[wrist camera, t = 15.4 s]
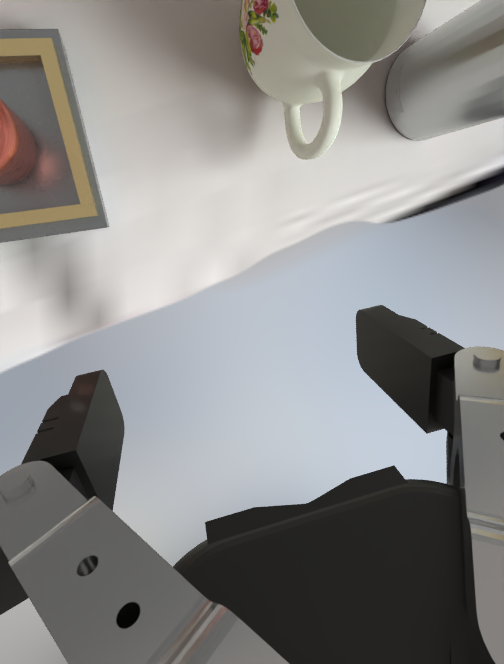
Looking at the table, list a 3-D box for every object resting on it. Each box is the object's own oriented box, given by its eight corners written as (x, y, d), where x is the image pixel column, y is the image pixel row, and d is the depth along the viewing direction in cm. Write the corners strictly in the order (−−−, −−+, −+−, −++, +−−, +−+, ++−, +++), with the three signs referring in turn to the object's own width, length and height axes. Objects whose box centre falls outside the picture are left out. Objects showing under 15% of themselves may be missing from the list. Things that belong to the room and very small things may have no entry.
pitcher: (226, 168, 36) (279, 137, 23) (220, -67, 31) (284, -268, 18) (327, 172, 39) (422, 147, 26) (337, -40, 34) (460, -196, 21)
